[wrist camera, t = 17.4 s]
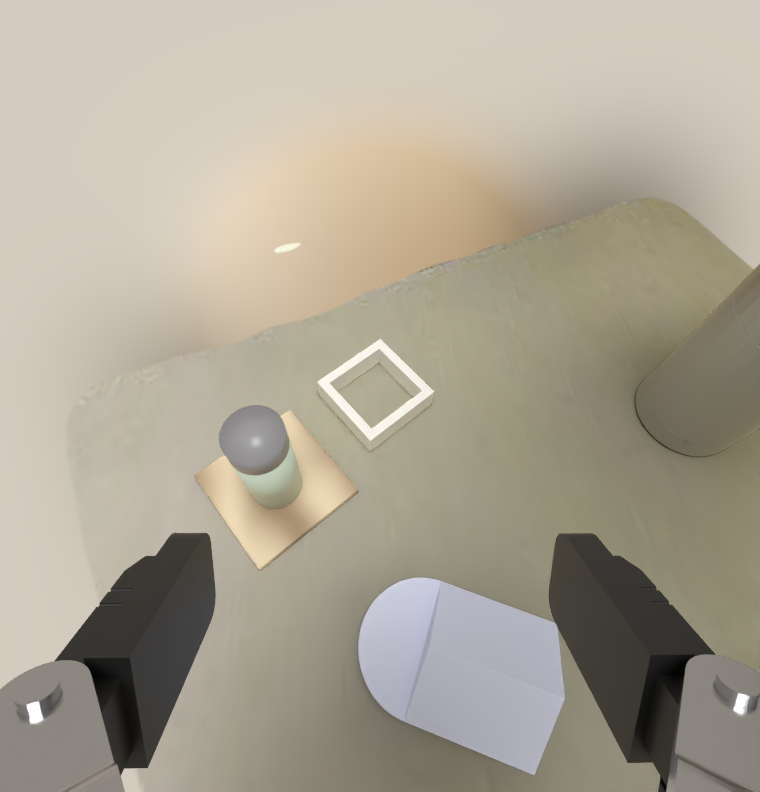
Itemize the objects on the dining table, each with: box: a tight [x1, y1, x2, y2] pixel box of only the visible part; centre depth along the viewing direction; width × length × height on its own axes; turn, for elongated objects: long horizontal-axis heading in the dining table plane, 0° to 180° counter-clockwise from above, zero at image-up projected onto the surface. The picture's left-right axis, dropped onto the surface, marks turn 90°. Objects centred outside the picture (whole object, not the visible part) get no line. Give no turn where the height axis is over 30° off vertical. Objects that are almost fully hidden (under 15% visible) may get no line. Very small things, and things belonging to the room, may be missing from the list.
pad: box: [194, 410, 358, 571], centre depth 41 cm, size 10×10×1 cm
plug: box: [219, 405, 302, 509], centre depth 36 cm, size 4×4×10 cm
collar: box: [317, 339, 434, 452], centre depth 45 cm, size 8×8×2 cm
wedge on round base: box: [358, 578, 565, 775], centre depth 33 cm, size 9×7×13 cm
